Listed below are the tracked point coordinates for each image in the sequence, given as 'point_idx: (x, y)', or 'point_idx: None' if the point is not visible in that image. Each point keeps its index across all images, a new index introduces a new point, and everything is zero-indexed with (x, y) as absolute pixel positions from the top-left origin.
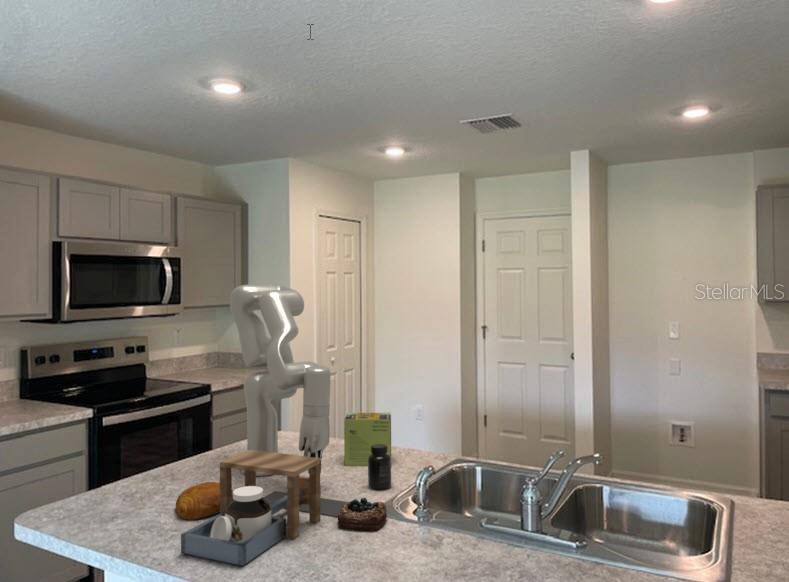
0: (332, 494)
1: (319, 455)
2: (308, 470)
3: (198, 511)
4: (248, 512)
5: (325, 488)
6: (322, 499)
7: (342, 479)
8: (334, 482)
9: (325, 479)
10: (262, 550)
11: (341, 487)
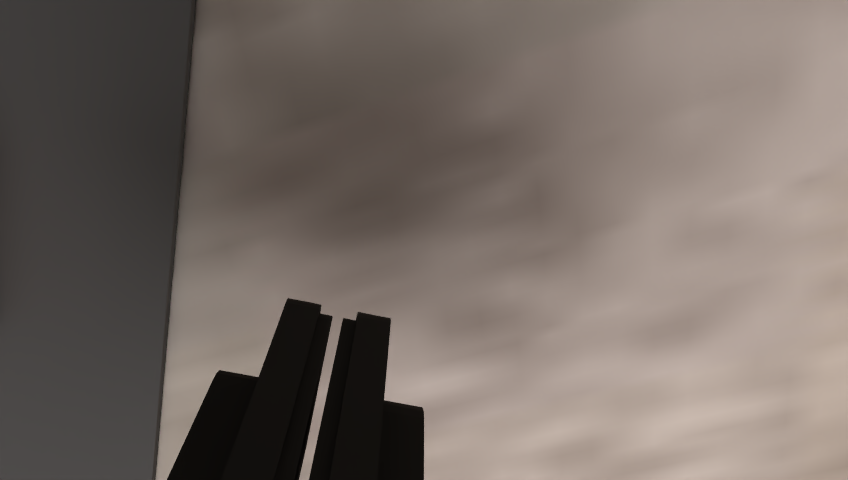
0: None
1: None
2: (279, 323)
3: None
4: None
5: (502, 316)
6: (125, 395)
7: (810, 400)
8: (711, 351)
9: (829, 230)
10: None
11: (549, 449)
